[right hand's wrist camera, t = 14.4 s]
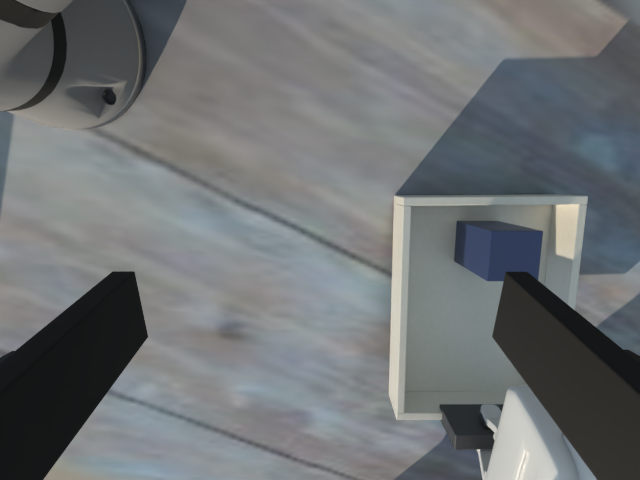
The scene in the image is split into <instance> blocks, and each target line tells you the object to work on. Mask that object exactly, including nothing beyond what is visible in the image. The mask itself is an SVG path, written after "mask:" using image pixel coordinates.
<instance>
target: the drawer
mask: <svg viewBox="0 0 640 480" xmlns="http://www.w3.org/2000/svg"><path fill="white" fill-rule="evenodd" d="M587 201H588V196H578V195H559V194H538V195H395V196H394V222H393V260H392V297H391V335H390V373H389V396H390V399H391V403H392V406H393V409H394V412H395V416H396V419H397V420H441V422H442V424H443V426H444V428H445V430H446V432H447V434H448V436H449V439H450V441H451V443H452V445H453V447H454V449H493V445H494V441H495V440H494V438H493V435H494V431H492V430H484V428H483V426H482V423H481V421H480V419H479V414H480V409H481V406H482V405H483V404H494V405H496V406H498V407H499V409H500V410H501V412H502V409H503V405H504V401H505V397H506V393H507V390H508V388H509V387H511V386H514V385H527V384H526V382H525V381H524V380H523V378H522V377H521V375H520V374H519V373H518V371H517V370H516V369H515V367H514V366H513V365H512V363H511V362H510V361H509V359H508V358H507V356H506V355H505V354H504V352H503V351H502V350H501V348H500V347H499V346H498V344H497V343H496V341H495V340H494V339H493V337H492V335H493V330H494V325H495V320H496V315H497V311H498V306H499V301H500V296H501V292H502V287H503V282H504V281H486V280H484V279H483V278H481V277H479V276H478V275H476V274H474V273H473V272H471V271H469V270H468V269H466V268H464V267H463V266H461V265H459V264H458V263H456V262H455V261H454V255H455V240H456V224H457V221H501V222H505V223H510V224H514V225H519V226H523V227H528V228H532V229H536V230H541V231H543V238H542V248H541V257H540V267H539V277H538V281H539V282H541V283H542V284H543V285H544V286H546V287H547V288H548V289H549V290H550V291H552V292H553V293H554V294H555V295H557V296H558V297H559V298H560V299H561V300H563V301H564V302H565V303H566V304H568V305H569V306H570V307H571V308H572V309H574V310H575V305H576V297H577V288H578V279H579V270H580V262H581V253H582V244H583V235H584V227H585V218H586V209H587V205H586V204H587Z"/></svg>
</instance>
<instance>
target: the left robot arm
mask: <svg viewBox="0 0 640 480" xmlns="http://www.w3.org/2000/svg"><path fill="white" fill-rule="evenodd" d="M479 419H480V421H481V423H482V426H483V428H484V430H492V431H494V435H493V438H494V440H495V441H494V445H493V449H477V452H478V454H479V461H480V467H481V473H482V478H483V480H597V479H596V478H595V476H594V475H593V474H592V472H591V471H590V469H589V468H588V467H587V465H586V464H585V463H584V461H583V460H582V459H581V457H580V456H579V454H578V453H577V452H576V450H575V449H574V448H573V446H572V445H571V444H570V442H569V441H568V439H567V438H566V437H565V435H564V434H563V433H562V431H561V430H560V429H559V427H558V426H557V425H556V423H555V422H554V420H553V419H552V418H551V416H550V415H549V414H548V412H547V411H546V410H545V408H544V407H543V405H542V404H541V403H540V401H539V400H538V399H537V397H536V396H535V395H534V393H533V392H532V390H531V389H530V388H529V386H528V385H514V386H511V387H509V388H508V390H507V393H506V397H505V401H504V405H503V409H502V412H501V410H500V409H499V407H498V406H496V405H494V404H483V405H482V406H481V409H480V414H479Z"/></svg>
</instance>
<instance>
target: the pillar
mask: <svg viewBox="0 0 640 480" xmlns="http://www.w3.org/2000/svg"><path fill="white" fill-rule="evenodd" d="M542 238H543V231H541V230H536V229H532V228H528V227H523V226H519V225H514V224H510V223H505V222H501V221H457V224H456V240H455V255H454V261H455V262H456V263H458V264H459V265H461V266H463V267H464V268H466V269H468V270H469V271H471V272H473V273H474V274H476V275H478V276H479V277H481V278H483V279H484V280H486V281H504V277H505V272H528V273H530V274H531V275H532V276H533V277H534V278H536V279H537V280H538V277H539V267H540V257H541V248H542Z"/></svg>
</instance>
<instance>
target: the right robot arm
mask: <svg viewBox="0 0 640 480" xmlns="http://www.w3.org/2000/svg"><path fill="white" fill-rule="evenodd" d="M145 68H146V50H145V42H144V37H143V33H142V29H141V26H140V23H139V20H138V18H137V15H136V13H135V11H134V9H133V7H132V5H131V3H130V1H129V0H0V111H7V112H10V113H12V114H15V115H18V116H20V117H23V118H26V119H29V120H31V121H34V122H37V123H40V124H43V125H46V126H50V127H56V128H63V129H87V128H95V127H99V126H103V125H106V124H108V123H110V122H112V121H114V120H116V119H117V118H119V117H120V116H122V115H123V114H124V113H125V112H126V111H127V110H128V109H129V108H130V107H131V105H132V104H133V102H134V101H135V99H136V98H137V96H138V94H139V92H140V89H141V86H142V83H143V80H144V75H145ZM147 337H148V335H147V330H146V325H145V320H144V315H143V311H142V306H141V301H140V296H139V292H138V287H137V282H136V277H135V272H112V273H110V274H109V275H108V276H107V277H106V278H104V279H103V280H102V281H101V282H99V283H98V284H97V285H96V286H94V287H93V288H92V289H91V290H90V291H88V292H87V293H86V294H85V295H83V296H82V297H81V298H80V299H79V300H77V301H76V302H75V303H74V304H72V305H71V306H70V307H69V308H68V309H66V310H65V311H64V312H63V313H61V314H60V315H59V316H58V317H56V318H55V319H54V320H53V321H52V322H50V323H49V324H48V325H47V326H45V327H44V328H43V329H42V330H41V331H39V332H38V333H37V334H36V335H34V336H33V337H32V338H31V339H30V340H28V341H27V342H26V343H25V344H23V345H22V346H21V347H20V348H18V349H17V350H16V351H12V352H10V353H8V354H6V355H4V356H2V357H1V358H0V480H43V479H44V478H45V476H46V475H47V474H48V472H49V471H50V469H51V468H52V467H53V465H54V464H55V463H56V461H57V460H58V459H59V457H60V456H61V454H62V453H63V452H64V450H65V449H66V448H67V446H68V445H69V444H70V442H71V441H72V439H73V438H74V437H75V435H76V434H77V433H78V431H79V430H80V429H81V427H82V426H83V424H84V423H85V422H86V420H87V419H88V418H89V416H90V415H91V414H92V412H93V411H94V410H95V408H96V407H97V405H98V404H99V403H100V401H101V400H102V399H103V397H104V396H105V395H106V393H107V392H108V390H109V389H110V388H111V386H112V385H113V384H114V382H115V381H116V380H117V378H118V377H119V375H120V374H121V373H122V371H123V370H124V369H125V367H126V366H127V365H128V363H129V362H130V361H131V359H132V358H133V356H134V355H135V354H136V352H137V351H138V350H139V348H140V347H141V346H142V344H143V343H144V341H145V340H146V339H147ZM492 337H493V339H494V340H495V341H496V343H497V344H498V346H499V347H500V348H501V350H502V351H503V352H504V354H505V355H506V356H507V358H508V359H509V361H510V362H511V363H512V365H513V366H514V367H515V369H516V370H517V371H518V373H519V374H520V375H521V377H522V378H523V380H524V381H525V382H526V384H527V385H528V386H529V388H530V389H531V390H532V392H533V393H534V395H535V396H536V397H537V399H538V400H539V401H540V403H541V404H542V405H543V407H544V408H545V410H546V411H547V412H548V414H549V415H550V416H551V418H552V419H553V420H554V422H555V423H556V425H557V426H558V427H559V429H560V430H561V431H562V433H563V434H564V435H565V437H566V438H567V439H568V441H569V442H570V444H571V445H572V446H573V448H574V449H575V450H576V452H577V453H578V454H579V456H580V457H581V459H582V460H583V461H584V463H585V464H586V465H587V467H588V468H589V469H590V471H591V472H592V474H593V475H594V476H595V478H596V479H597V480H640V356H639V355H637V354H635V353H633V352H631V351H629V350H623V349H622V348H620V347H619V346H618V345H617V344H615V343H614V342H613V341H612V340H610V339H609V338H608V337H607V336H606V335H604V334H603V333H602V332H601V331H599V330H598V329H597V328H596V327H595V326H593V325H592V324H591V323H590V322H588V321H587V320H586V319H585V318H584V317H582V316H581V315H580V314H579V313H577V312H576V311H575V310H574V309H572V308H571V307H570V306H569V305H568V304H566V303H565V302H564V301H563V300H561V299H560V298H559V297H558V296H557V295H555V294H554V293H553V292H552V291H550V290H549V289H548V288H547V287H546V286H544V285H543V284H542V283H541V282H539V281H538V280H537V279H536V278H534V277H533V276H532V275H531V274H530V273H528V272H505V277H504V282H503V287H502V292H501V296H500V301H499V306H498V311H497V315H496V320H495V325H494V330H493V335H492Z"/></svg>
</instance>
